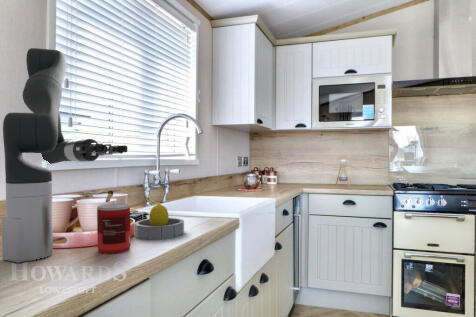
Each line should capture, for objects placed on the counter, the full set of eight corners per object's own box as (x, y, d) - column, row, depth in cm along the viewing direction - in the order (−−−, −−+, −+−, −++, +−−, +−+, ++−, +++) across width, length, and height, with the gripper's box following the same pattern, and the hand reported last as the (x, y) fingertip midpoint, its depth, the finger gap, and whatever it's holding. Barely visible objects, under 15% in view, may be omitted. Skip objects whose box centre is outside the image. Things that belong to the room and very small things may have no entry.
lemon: (164, 232, 101) (163, 204, 101) (146, 232, 103) (145, 204, 102) (171, 228, 107) (171, 202, 107) (154, 228, 108) (154, 202, 108)
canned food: (117, 244, 92) (117, 202, 92) (137, 248, 88) (136, 204, 88) (90, 251, 86) (90, 206, 86) (110, 256, 82) (109, 208, 82)
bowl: (162, 241, 95) (162, 228, 95) (124, 236, 102) (124, 224, 102) (193, 231, 107) (192, 219, 107) (157, 227, 114) (157, 216, 114)
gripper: (62, 137, 112) (97, 134, 105) (99, 140, 125) (133, 137, 117) (62, 161, 112) (97, 160, 104) (99, 161, 125) (133, 160, 117)
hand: (116, 148), depth 111 cm, fingers open, 8 cm apart
